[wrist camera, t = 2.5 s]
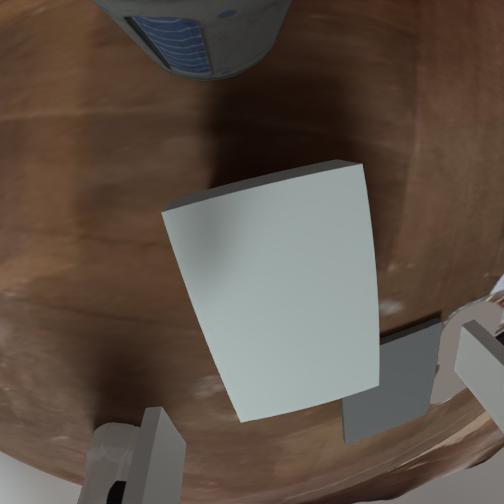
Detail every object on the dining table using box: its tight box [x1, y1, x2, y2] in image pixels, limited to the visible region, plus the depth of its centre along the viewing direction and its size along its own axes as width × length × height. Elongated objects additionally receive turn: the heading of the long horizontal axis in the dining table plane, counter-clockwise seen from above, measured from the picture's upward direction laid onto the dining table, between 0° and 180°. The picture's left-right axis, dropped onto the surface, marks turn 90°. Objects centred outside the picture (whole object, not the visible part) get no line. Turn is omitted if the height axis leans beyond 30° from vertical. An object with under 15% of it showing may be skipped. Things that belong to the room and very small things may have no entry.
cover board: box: [161, 159, 379, 422], centre depth 19 cm, size 15×10×4 cm, turn 14°
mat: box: [340, 317, 442, 445], centre depth 31 cm, size 16×12×1 cm
